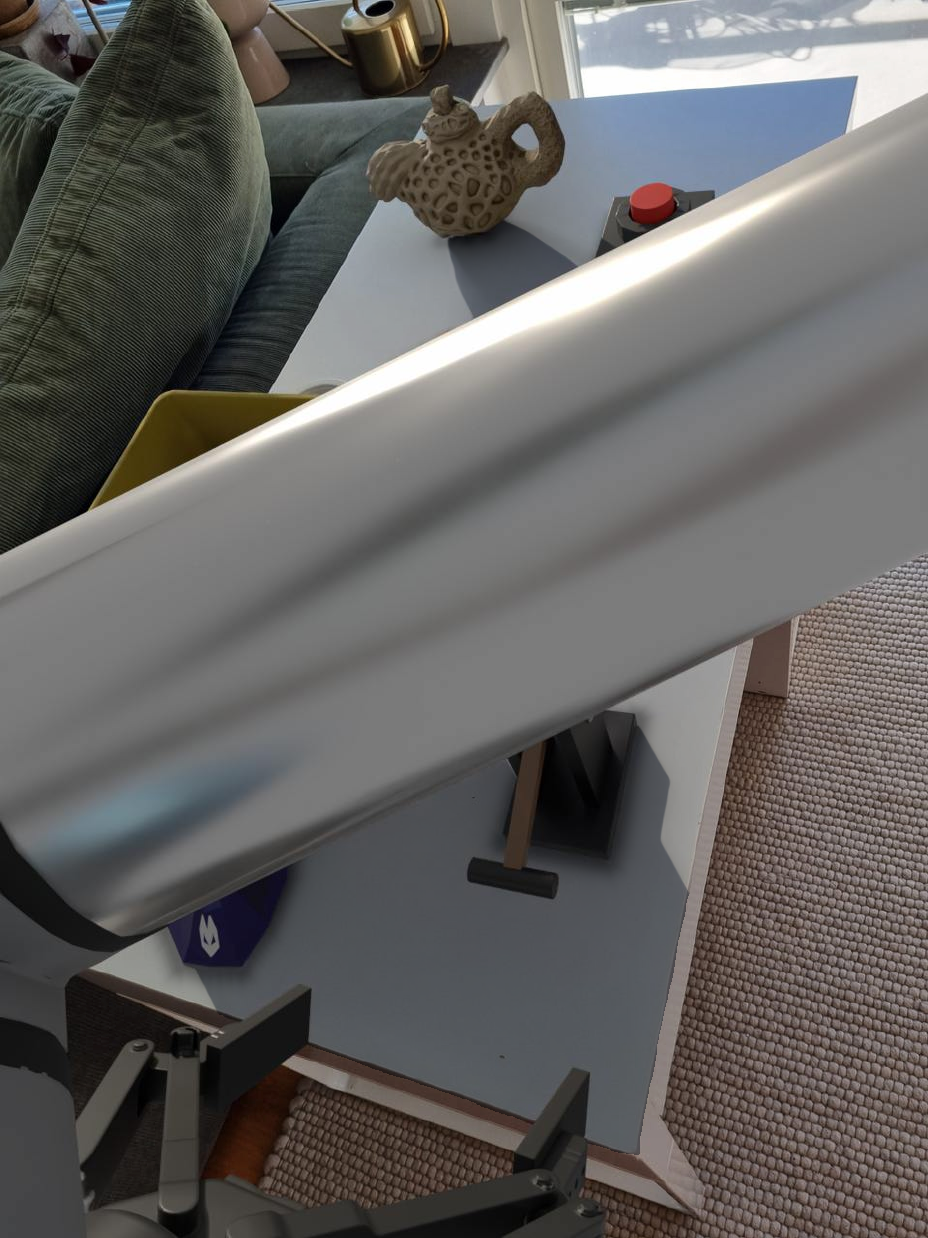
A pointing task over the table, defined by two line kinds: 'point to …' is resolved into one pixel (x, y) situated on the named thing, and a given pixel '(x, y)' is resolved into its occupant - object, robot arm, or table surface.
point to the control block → (626, 229)
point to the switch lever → (519, 839)
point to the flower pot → (190, 432)
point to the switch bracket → (581, 785)
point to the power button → (652, 203)
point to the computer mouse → (229, 924)
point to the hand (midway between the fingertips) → (432, 1054)
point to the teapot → (468, 163)
